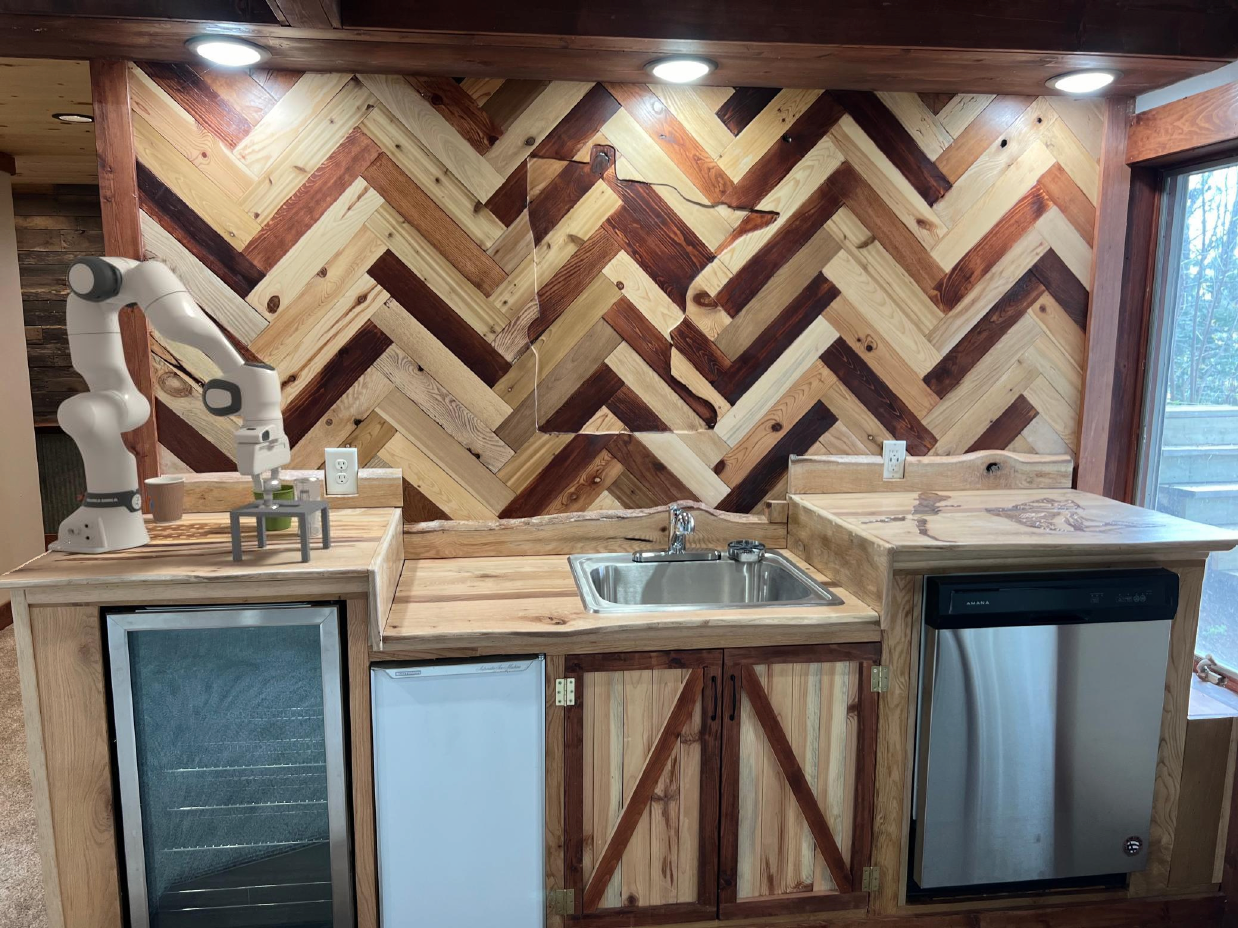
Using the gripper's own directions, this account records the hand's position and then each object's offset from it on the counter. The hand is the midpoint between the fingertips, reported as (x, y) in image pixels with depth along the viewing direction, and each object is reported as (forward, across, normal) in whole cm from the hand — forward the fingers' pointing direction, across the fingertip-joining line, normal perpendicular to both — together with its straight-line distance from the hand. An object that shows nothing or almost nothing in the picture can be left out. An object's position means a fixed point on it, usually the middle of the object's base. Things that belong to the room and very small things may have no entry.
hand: (267, 488), depth 204 cm
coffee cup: (+16, -34, -46) cm, 60 cm away
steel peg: (+6, 0, 0) cm, 6 cm away
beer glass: (+16, -20, +1) cm, 26 cm away
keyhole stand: (+16, 0, +3) cm, 17 cm away
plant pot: (+16, -27, -11) cm, 34 cm away
